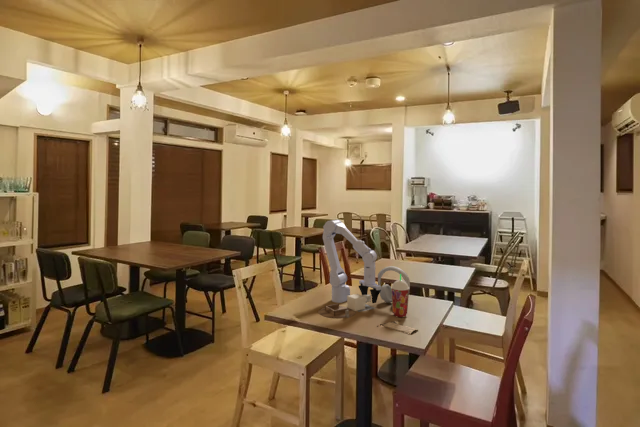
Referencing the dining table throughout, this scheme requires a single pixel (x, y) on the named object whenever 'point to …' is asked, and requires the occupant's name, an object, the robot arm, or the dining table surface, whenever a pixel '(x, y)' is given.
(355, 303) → the beige upright block
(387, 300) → the headphones
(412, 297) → the dining table surface
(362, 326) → the dining table surface
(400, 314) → the smoothie
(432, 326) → the dining table surface
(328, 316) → the turntable
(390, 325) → the newspaper
